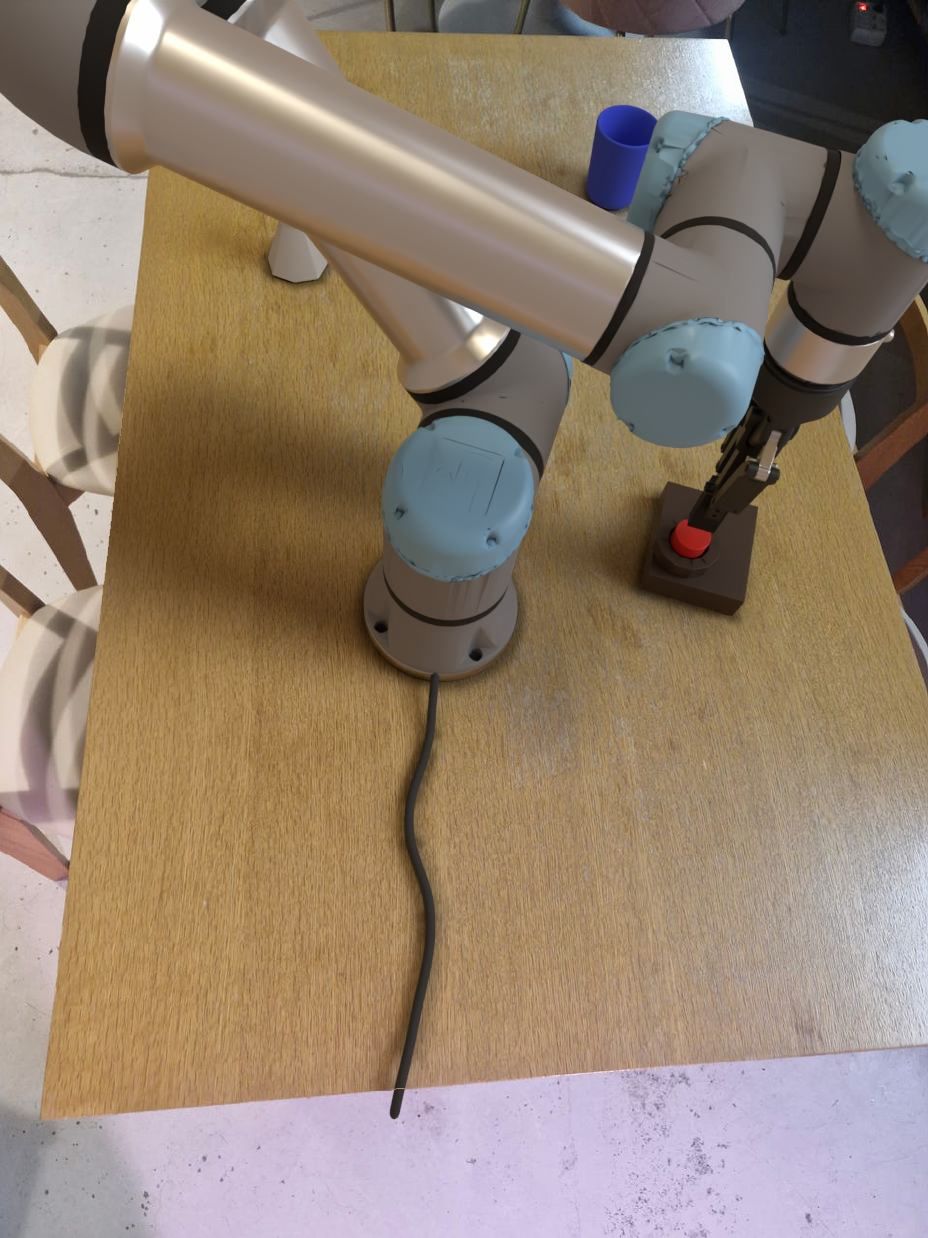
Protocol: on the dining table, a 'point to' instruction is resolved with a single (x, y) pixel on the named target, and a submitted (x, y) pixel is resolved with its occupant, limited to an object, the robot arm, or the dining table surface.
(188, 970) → the dining table surface
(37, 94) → the robot arm
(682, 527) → the power button
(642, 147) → the mug
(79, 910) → the dining table surface
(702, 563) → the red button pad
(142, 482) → the dining table surface
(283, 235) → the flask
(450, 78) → the dining table surface
